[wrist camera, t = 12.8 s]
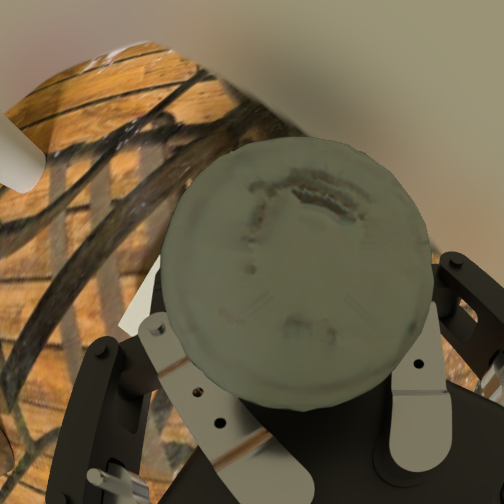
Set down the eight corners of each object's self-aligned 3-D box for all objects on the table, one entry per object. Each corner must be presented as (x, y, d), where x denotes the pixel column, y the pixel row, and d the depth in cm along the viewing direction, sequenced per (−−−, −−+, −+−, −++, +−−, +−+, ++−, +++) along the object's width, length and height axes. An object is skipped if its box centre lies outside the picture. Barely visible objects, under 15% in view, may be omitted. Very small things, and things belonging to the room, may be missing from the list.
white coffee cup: (56, 146, 28) (8, 102, 18) (36, 198, 27) (-21, 165, 17) (23, 147, 28) (-22, 110, 18) (5, 195, 27) (-47, 166, 17)
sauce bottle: (271, 241, 24) (325, 25, 5) (322, 299, 23) (536, 251, 4) (208, 294, 23) (36, 223, 4) (260, 354, 22) (292, 529, 3)
